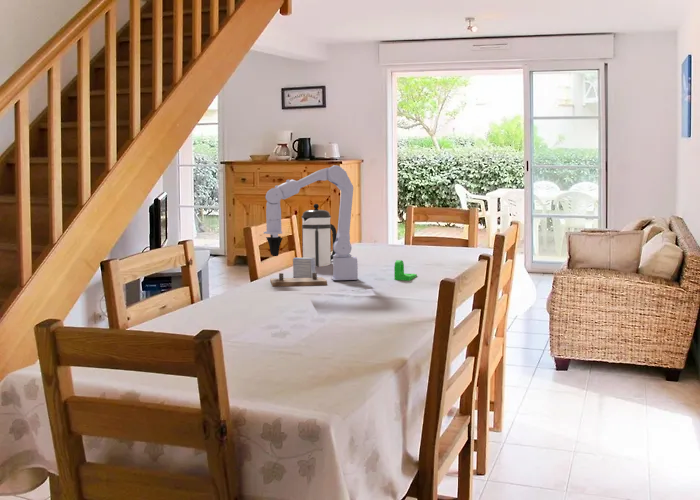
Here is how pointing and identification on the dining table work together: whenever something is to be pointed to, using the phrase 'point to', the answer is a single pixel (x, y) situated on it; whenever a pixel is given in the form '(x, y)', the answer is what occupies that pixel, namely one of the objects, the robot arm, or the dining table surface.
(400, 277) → the mechanical part
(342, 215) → the robot arm
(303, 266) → the medicine box
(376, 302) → the dining table surface
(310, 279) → the walnut board
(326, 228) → the coffee press
